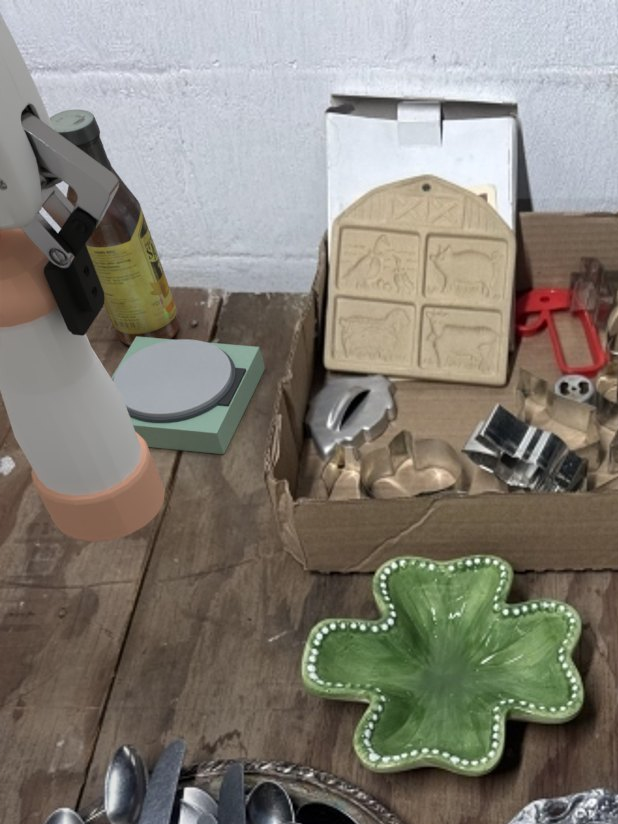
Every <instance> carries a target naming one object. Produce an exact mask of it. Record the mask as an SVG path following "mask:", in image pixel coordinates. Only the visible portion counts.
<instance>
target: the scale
mask: <svg viewBox="0 0 618 824" xmlns="http://www.w3.org/2000/svg"><path fill="white" fill-rule="evenodd" d="M265 370H266V367H265V363H264V360H263V355H262V351H261V349H260V346H252V345H242V344H229V343H218V342H206V341H202V340H199V339H186V338H184V339H180V338H179V339H173V338H172V339H161V338H149V337H137V336H136V338H135V339H134V341H133V343H132V344H131V346H129V347H128V349H127V351H126V352H125V354H124V356H123V358H122V359H121V361H120V362H119V364H118V366H117V367H116V368H115V371H114V372H113V374H112V376H111V379H112V381H113V382H114V384H115V385H116V387H117V389H118V390H119V392H120V393H121V395H122V397H123V400H124V402H125V405H126V408H127V410H128V413H129V416H130V419H131V421H132V424H133V427H134V430H135V432H137V433H138V434H139V435H140V436H141V437H142V438H143V439H144V440H145V441H146V443H147V445H148V448H153V449H164V450H165V449H166V450H173V451H174V450H176V451H184V452H196V453H205V454H216V455H225V454H226V451H227V449H228V447H229V445H230V443H231V441H232V439H233V437H234V435H235V432H236V430H237V428H238V426H239V424H240V422H241V420H242V418H243V416H244V414H245V412H246V410H247V408H248V405H249V404H250V401H251V399H252V397H253V395H254V393H255V391H256V389H257V387H258V385H259V382H260V380H261V378H262V376H263V374H264V372H265Z"/></svg>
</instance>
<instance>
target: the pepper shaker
mask: <svg viewBox="0 0 618 824" xmlns="http://www.w3.org/2000/svg"><path fill="white" fill-rule="evenodd" d="M48 262H49V259H48V258H47V257H46V256H45V255H44V254H43V253H42V252H41V251H40V249H39V248H38V247H37V246H36V245H35V244H34V243H33V242H32V241H31V240H30V239H29V237H28V236H27V235H26V234H25V233H24V232H23V231H22V230H21V229H20V228H18V229H0V395H1V397H2V401H3V404H4V408H5V411H6V413H7V417H8V420H9V423H10V426H11V430H12V434H13V436H14V438H15V440H16V442H17V444H18V445H19V448H20V449H21V451H22V453H23V454H24V456H25V458H26V460H27V461H28V463H29V465H30V467H31V473H30V475H31V479H32V482H33V487H34V488H35V490H36V492H37V494H38V495H39V497H40V499H41V501H42V503H43V505H44V507H45V509H46V511H47V512H48V514H49V516H50V518H51V520H52V522H53V524H54V525H55V526H56V527H57V528H58V529H59V531H61V532H62V534H64V535H67V536H68V537H70V538H73V539H74V540H78V541H84V542H90V543H94V542H107V541H113V540H117V539H120V538H123V537H127V536H130V535H132V534H133V533H135V532H137V531H138V530H140V529H142V528H144V527H145V526H146V525H148V524H149V523H150V522H151V521H152V520H153V519H154V518H155V517H156V516H157V515H158V513H160V510H161V508H162V507H163V505H164V502H165V495H166V494H165V493H166V489H165V486H164V483H163V481H162V478H161V475H160V472H159V471H158V467H157V466H156V463H155V461H154V458H153V455H152V453H151V451H150V447H148V445H147V443H146V441H145V440H144V439H143V438H142V437H141V436H140V435H139V434H138V433H137V432H135V430H134V427H133V424H132V421H131V419H130V416H129V413H128V410H127V408H126V405H125V402H124V400H123V397H122V395H121V393H120V392H119V390H118V389H117V387H116V385H115V384H114V382H113V381H112V379H111V378H112V376H110V374H109V373H108V370H106V368H105V366H104V365H103V363H102V362H101V360H100V359H99V357H98V355H97V354H96V352H95V350H94V348H93V347H92V345H91V343H90V340H89V338H88V336H87V333H86V334H85V335H83V336H81V335H73V334H72V333H71V332H70V331H69V330H68V329H67V326H66V324H65V322H64V319H63V317H62V315H61V312H60V310H59V308H58V305H57V303H56V301H55V298H54V296H53V294H52V291H51V289H50V287H49V284H48V282H47V280H46V277H45V275H44V267H45V266H46V264H47V263H48Z"/></svg>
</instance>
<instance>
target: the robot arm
mask: <svg viewBox="0 0 618 824" xmlns="http://www.w3.org/2000/svg"><path fill="white" fill-rule="evenodd" d="M62 182H63V183H65V184H66V185H68V186H71V187H72V188H73V189H74V191H75V192H76V194H77V202H76V205H75V207H74V206H73V205H72V204H71V202H70V201H69V200H68V199H67V198H66V197H67V196H66V195H65V194H64V193H63V192H62V190H60V188H59V187H58V186H57V185H59V184H61V183H62ZM118 187H119V181H118V179H117V177H116V176H115V175H114V174H113V173H112V172H111V171H109V170H108V169H107V168H105V167H104V166H103V165H101V164H100V163H98V162H97V161H96V160H94V159H93V158H92V157H90V156H89V155H88V154H86V153H85V152H83V151H82V150H81V149H79V148H78V147H77V146H75V145H74V144H73V143H71V142H70V141H68V140H67V139H66V138H64V137H63V136H62V135H60V134H59V133H57V132H56V131H55V130H54V128H53V125H52V123H51V120H50V115H49V113H48V111H47V109H46V105H45V104H44V101H43V99H42V96H41V94H40V92H39V90H38V88H37V85H36V83H35V81H34V78H33V77H32V75H31V72H30V70H29V67H28V66H27V63H26V61H25V58H24V57H23V55H22V53H21V50H20V49H19V46H18V45H17V42H16V40H15V39H14V36H13V34H12V32H11V30H10V29H9V27H8V25H7V23H6V21H5V19H4V17H3V15H2V14H1V12H0V229H18V228H20V229H21V230H22V231H23V232H24V233H25V234H26V235H27V236H28V237H29V239H30V240H31V241H32V242H33V243H34V244H35V245H36V246H37V247H38V248H39V249H40V251H41V252H42V253H43V254H44V255H45V256H46V257H47V258H48V259H49V262H48V263H47V264H46V266H45V267H44V275H45V277H46V280H47V282H48V284H49V287H50V289H51V291H52V294H53V296H54V298H55V301H56V303H57V305H58V308H59V310H60V312H61V315H62V317H63V319H64V322H65V324H66V326H67V329H68V330H69V331H70V332H71V333H72V334H73V335H81V336H83V335H85V334H86V335H87V332H88V331H89V329H90V327H91V326H92V325H93V323H94V322H95V320H96V318H97V317H98V315H99V314H100V312H101V310H102V309H103V308H104V306H105V305H104V299H105V296H104V291H103V288H102V286H101V283H100V280H99V278H98V275H97V273H96V270H95V267H94V265H93V262H92V260H91V257H90V254H89V252H88V249H87V247H86V242H87V241H88V239H89V238H90V236H91V235H92V234H93V232H94V231H95V229H96V228H97V226H98V225H99V224H100V222H101V221H102V219H103V218H104V216H105V213H106V211H107V209H108V207H109V205H110V203H111V201H112V199H113V197H114V195H115V193H116V191H117V189H118ZM42 209H43V210H44V211H45V212H46V213H47V215H48V216H50V218H51V219H52V220H53V221H54V222H55V223H56V225H57V226H58V227H59V228H60V230H59V231H56V228H54V227H53V226H52V225H51V224H50V223H49V221H48V220H47V219H46V218H45V217H44V216H43V215H42V213H40V211H41V210H42Z"/></svg>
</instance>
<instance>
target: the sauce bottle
mask: <svg viewBox="0 0 618 824" xmlns="http://www.w3.org/2000/svg"><path fill="white" fill-rule="evenodd" d="M49 118H50V120H51V123H52V125H53V128H54V130H55V131H56V132H57V133H59V134H60V135H62V136H63V137H64V138H66V139H67V140H68V141H70V142H71V143H73V144H74V145H75V146H77V147H78V148H79V149H81V150H82V151H83V152H85V153H86V154H88V155H89V156H90V157H92V158H93V159H94V160H96V161H97V162H98V163H100V164H101V165H103V166H104V167H105V168H107V169H108V170H109V171H111V172H112V173H113V174H114V175H115V176H116V177H117V179H118V181H119V187H118V189H117V191H116V193H115V195H114V197H113V199H112V201H111V203H110V205H109V207H108V209H107V211H106V213H105V216H104V218H103V219H102V221H101V222H100V224H99V225H98V226H97V228H96V229H95V231H94V232H93V234H92V235H91V236H90V238H89V239H88V241H87V242H86V247H87V249H88V252H89V254H90V257H91V260H92V262H93V265H94V267H95V270H96V273H97V275H98V278H99V280H100V283H101V286H102V288H103V291H104V296H105V299H104V305H103V306H104V308H105V310H106V313H107V315H108V318H109V320H110V322H111V325H112V326H113V328H114V329H115V330H116V334H117V335H118V338H119V339H120V341H121V342H122V343H123V344H126V346H129V347H130V346H131V344H132V343H133V341H134V339H135V338H136V336H137V337H149V338H161V339H172V340H173V338H174V337H176V335H177V333H178V332H179V328H180V319H179V316H178V313H177V312H178V309H177V305H176V302H175V299H174V297H173V293H172V290H171V287H170V285H169V282H168V280H167V277H166V273H165V271H164V267H163V265H162V261H161V259H160V257H159V253H158V251H157V248H156V245H155V242H154V240H153V237H152V234H151V230H150V228H149V226H148V223H147V220H146V216H145V214H144V212H143V210H142V209H143V208H142V206H141V204H140V202H139V200H138V199H137V197H136V196H135V194H133V192H132V191H131V190H130V188H129V187H128V186H127V185H126V184H125V182H124V181H123V180H122V178H121V177H120V176H119V174H118V173H117V171H116V170H115V168H113V166H112V164H111V162H110V159H109V157H108V155H107V152H106V150H105V147H104V144H103V141H102V138H101V130H100V126H99V125H98V122H97V119H96V117H95V116H94V114H93V113H92V112H91V111H89V110H86V109H85V110H84V109H67V110H63V111H60V112H57V113H55V114H53V115H51V116H49ZM65 197H66V198H67V199H68V200H69V201H70V202H71V204H72V205H73V206H74V207H75V205H76V202H77V194H76V192H75V191H74V189H73V188H72V187H71V186H69V185H68V186H67V191H66V196H65Z"/></svg>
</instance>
